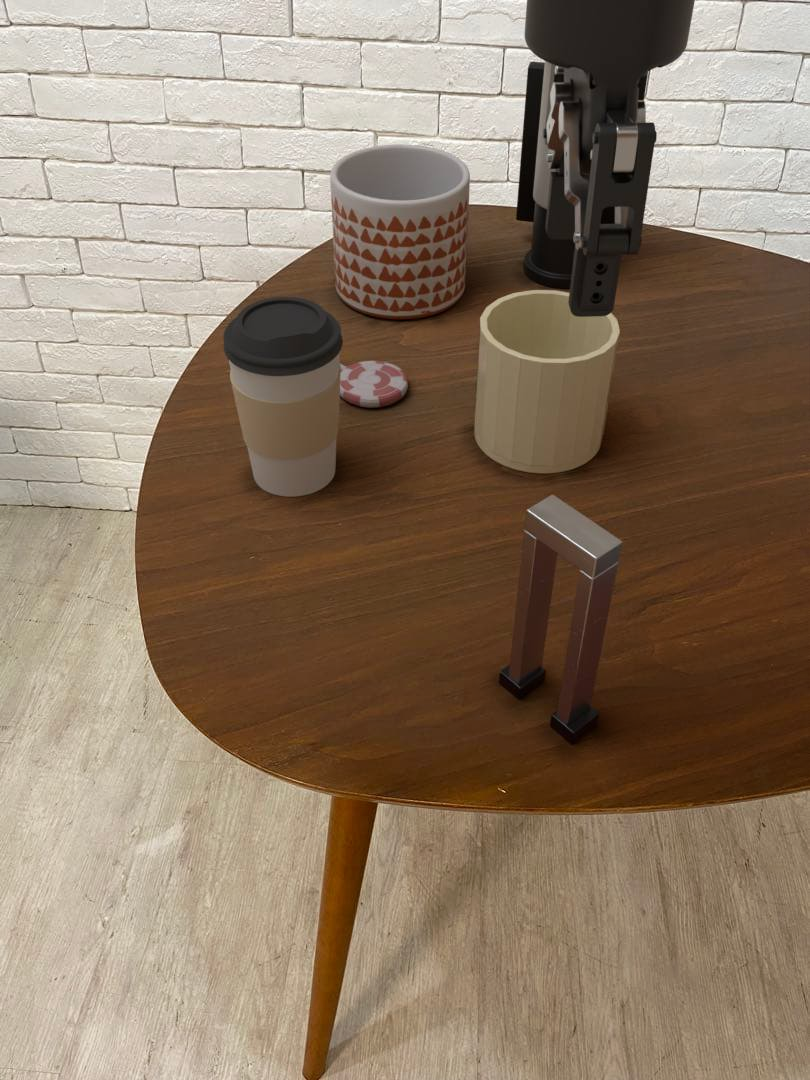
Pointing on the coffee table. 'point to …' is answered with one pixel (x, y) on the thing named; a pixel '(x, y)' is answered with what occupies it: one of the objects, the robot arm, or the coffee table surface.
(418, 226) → the planter
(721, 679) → the coffee table surface
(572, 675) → the tongs
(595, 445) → the crock
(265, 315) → the coffee cup
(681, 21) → the robot arm
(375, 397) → the lollipop
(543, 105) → the light fixture
